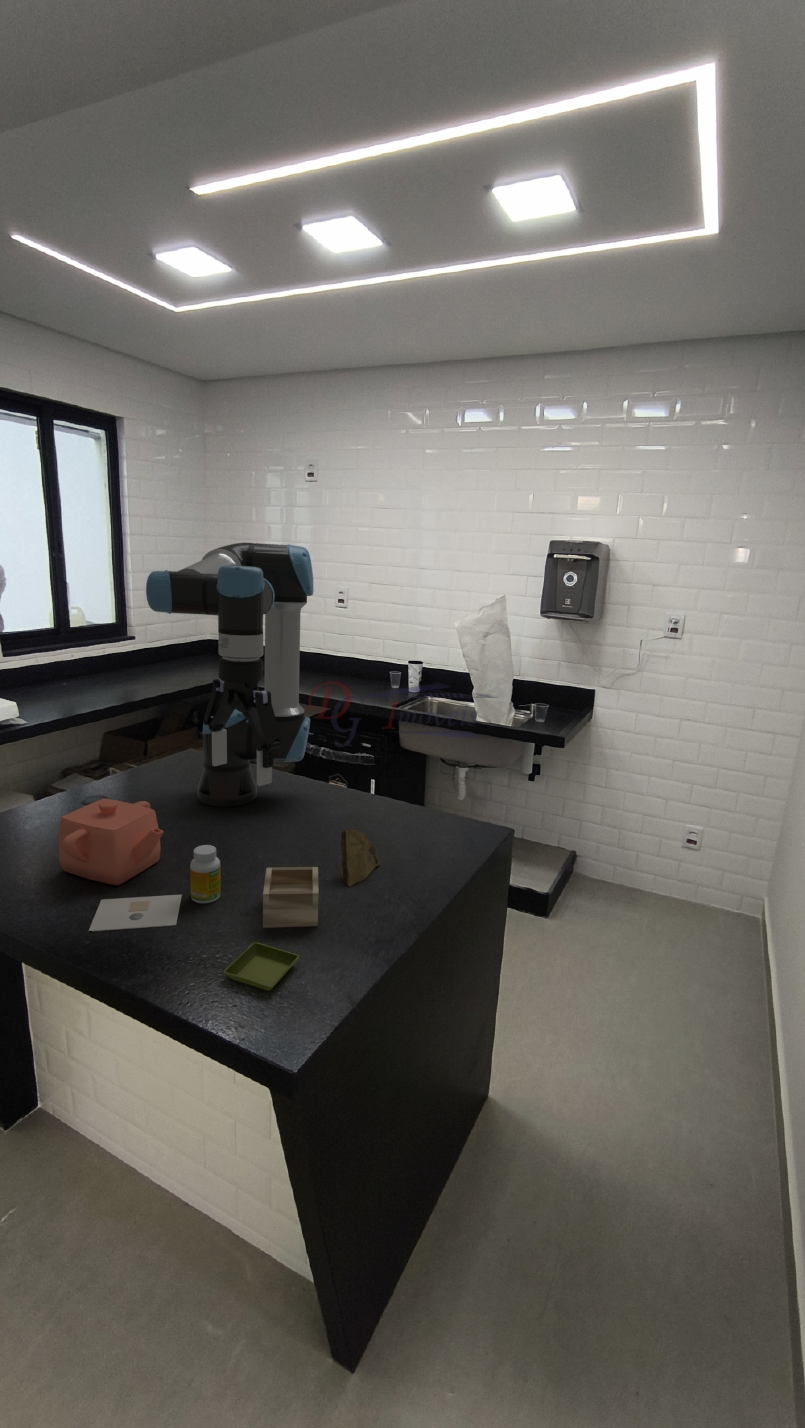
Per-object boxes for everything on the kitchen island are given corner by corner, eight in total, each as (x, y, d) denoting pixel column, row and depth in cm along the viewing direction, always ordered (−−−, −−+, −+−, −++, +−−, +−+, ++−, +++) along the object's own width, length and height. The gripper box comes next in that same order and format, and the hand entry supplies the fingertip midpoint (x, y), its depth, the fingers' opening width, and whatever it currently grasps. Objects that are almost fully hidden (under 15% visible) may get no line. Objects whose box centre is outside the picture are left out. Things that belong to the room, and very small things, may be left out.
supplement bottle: (212, 906, 118) (211, 858, 115) (185, 901, 119) (183, 853, 116) (225, 891, 123) (225, 845, 121) (199, 887, 124) (198, 841, 122)
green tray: (222, 983, 98) (221, 971, 98) (254, 951, 106) (254, 940, 106) (271, 999, 95) (271, 987, 95) (300, 966, 103) (300, 955, 103)
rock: (371, 845, 141) (329, 847, 136) (387, 826, 135) (343, 826, 130) (383, 892, 134) (339, 895, 130) (400, 873, 129) (354, 876, 124)
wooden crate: (266, 898, 121) (266, 867, 120) (317, 897, 123) (317, 866, 121) (262, 927, 112) (263, 894, 111) (317, 926, 114) (318, 893, 112)
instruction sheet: (101, 900, 118) (101, 899, 118) (181, 895, 121) (181, 894, 121) (88, 931, 108) (88, 930, 108) (176, 925, 111) (176, 924, 111)
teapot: (36, 883, 122) (30, 816, 118) (122, 838, 142) (119, 779, 139) (120, 908, 116) (116, 837, 112) (197, 857, 136) (196, 795, 132)
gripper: (182, 649, 116) (185, 760, 121) (268, 671, 100) (266, 798, 105) (218, 646, 122) (219, 753, 127) (305, 666, 106) (302, 787, 111)
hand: (241, 774), depth 116 cm, fingers open, 13 cm apart
